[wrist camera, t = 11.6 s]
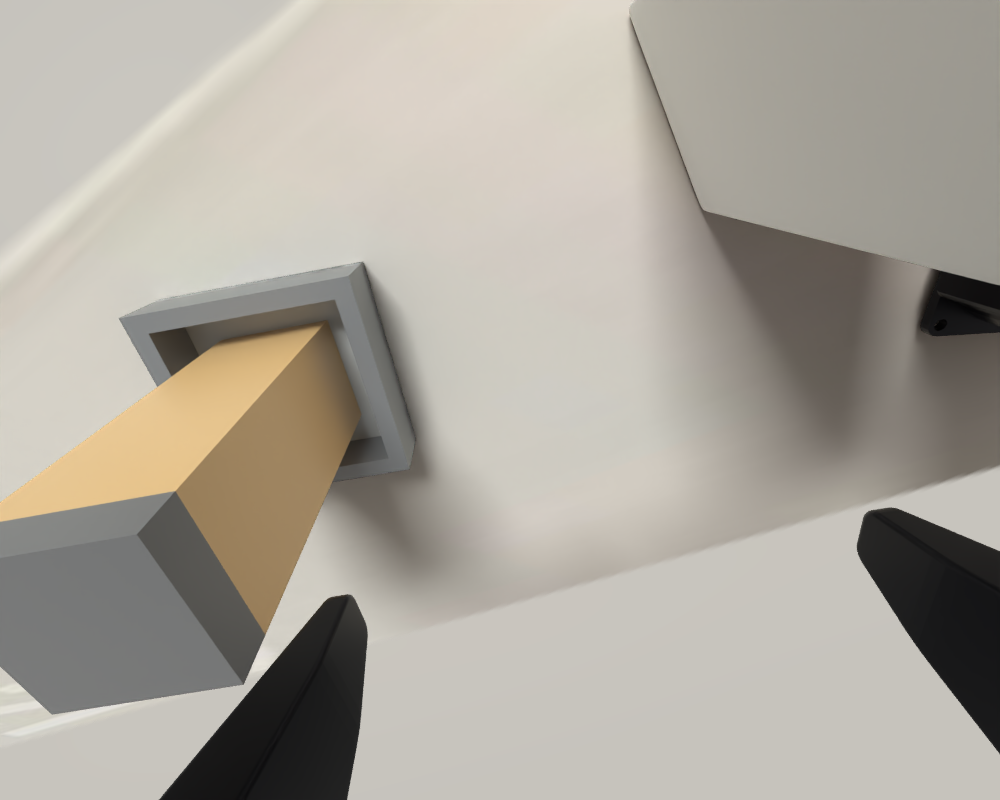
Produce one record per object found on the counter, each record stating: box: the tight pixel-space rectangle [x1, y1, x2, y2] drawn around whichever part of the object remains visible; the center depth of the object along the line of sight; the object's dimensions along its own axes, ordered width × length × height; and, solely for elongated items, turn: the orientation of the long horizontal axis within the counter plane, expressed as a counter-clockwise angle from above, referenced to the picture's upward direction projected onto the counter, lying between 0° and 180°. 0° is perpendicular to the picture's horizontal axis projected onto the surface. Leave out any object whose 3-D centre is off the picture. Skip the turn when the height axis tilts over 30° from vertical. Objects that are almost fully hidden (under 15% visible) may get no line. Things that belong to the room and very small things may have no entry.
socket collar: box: [119, 262, 416, 482], centre depth 19 cm, size 8×8×2 cm
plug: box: [0, 320, 362, 714], centre depth 15 cm, size 4×4×12 cm
